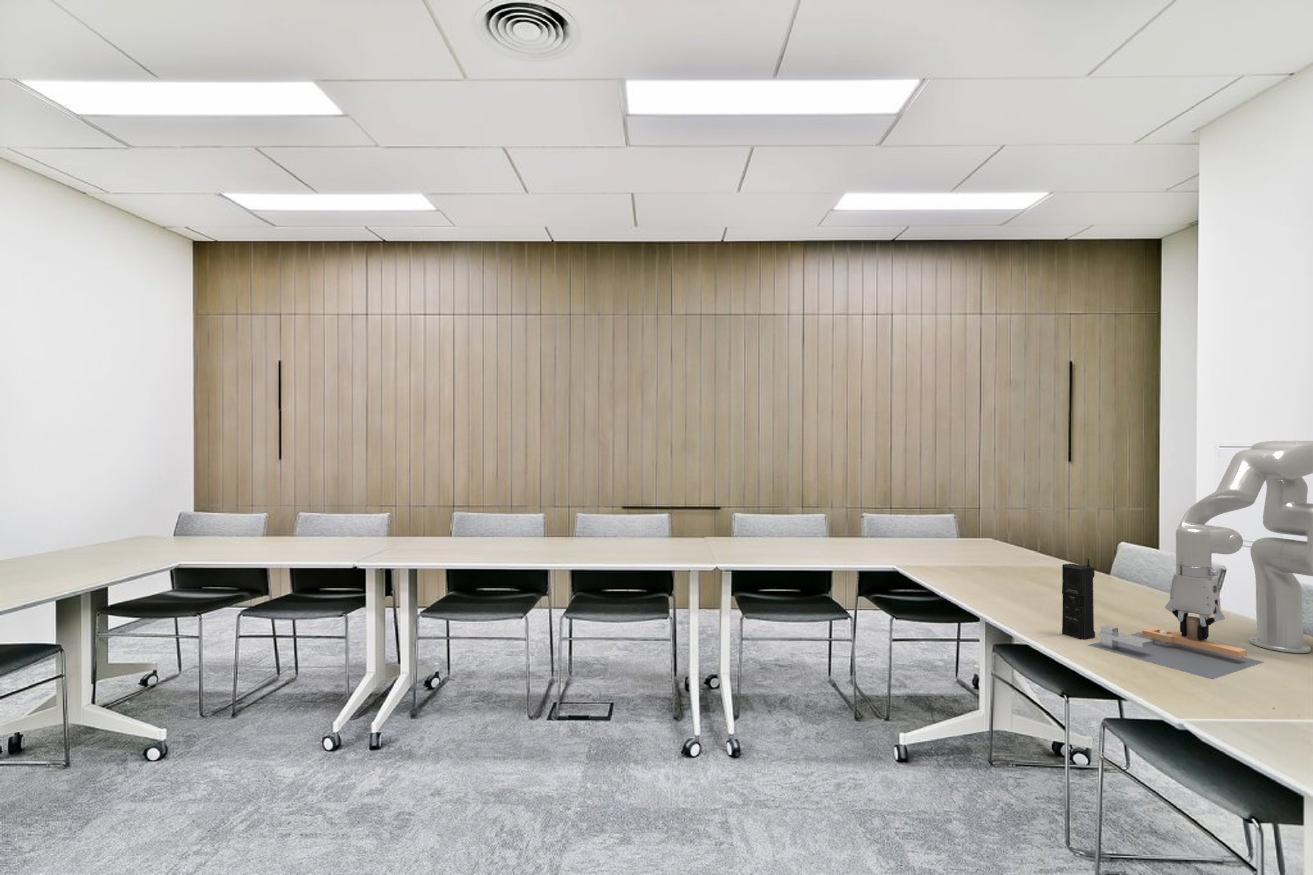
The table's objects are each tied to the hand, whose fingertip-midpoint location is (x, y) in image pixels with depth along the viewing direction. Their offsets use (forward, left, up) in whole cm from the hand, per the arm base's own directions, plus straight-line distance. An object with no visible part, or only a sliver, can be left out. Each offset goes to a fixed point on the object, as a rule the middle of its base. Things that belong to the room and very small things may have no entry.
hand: (1194, 637), depth 172 cm
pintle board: (+7, -2, -5) cm, 9 cm away
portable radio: (+14, -23, -6) cm, 28 cm away
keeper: (+16, -9, -5) cm, 19 cm away
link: (0, 0, -2) cm, 2 cm away
